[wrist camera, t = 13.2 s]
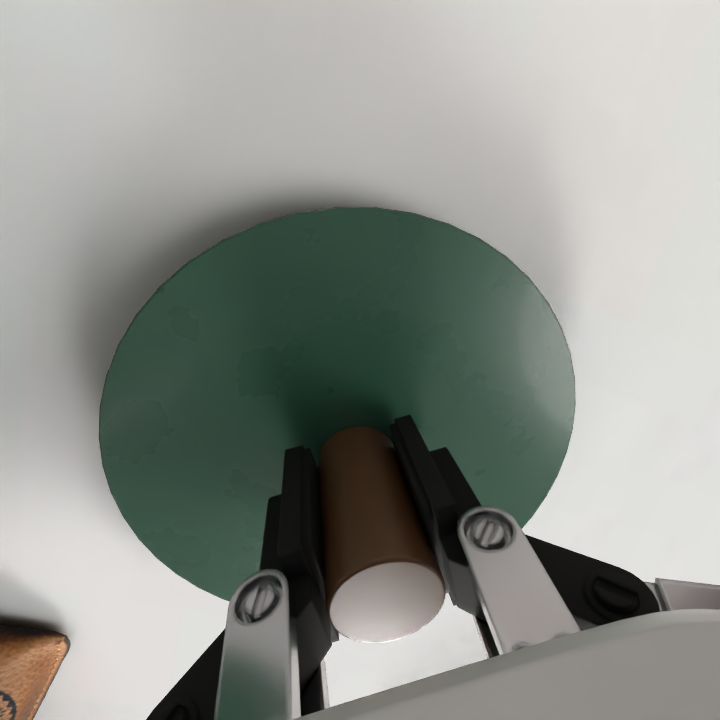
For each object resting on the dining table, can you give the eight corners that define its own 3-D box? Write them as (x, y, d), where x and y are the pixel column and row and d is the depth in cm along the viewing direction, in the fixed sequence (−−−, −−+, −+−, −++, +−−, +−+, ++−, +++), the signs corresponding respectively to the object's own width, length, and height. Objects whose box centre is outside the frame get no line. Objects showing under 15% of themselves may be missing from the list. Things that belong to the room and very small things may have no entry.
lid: (182, 618, 16) (113, 850, 10) (37, 227, 10) (-335, 253, 4) (530, 557, 17) (640, 727, 12) (587, 190, 11) (870, 171, 6)
